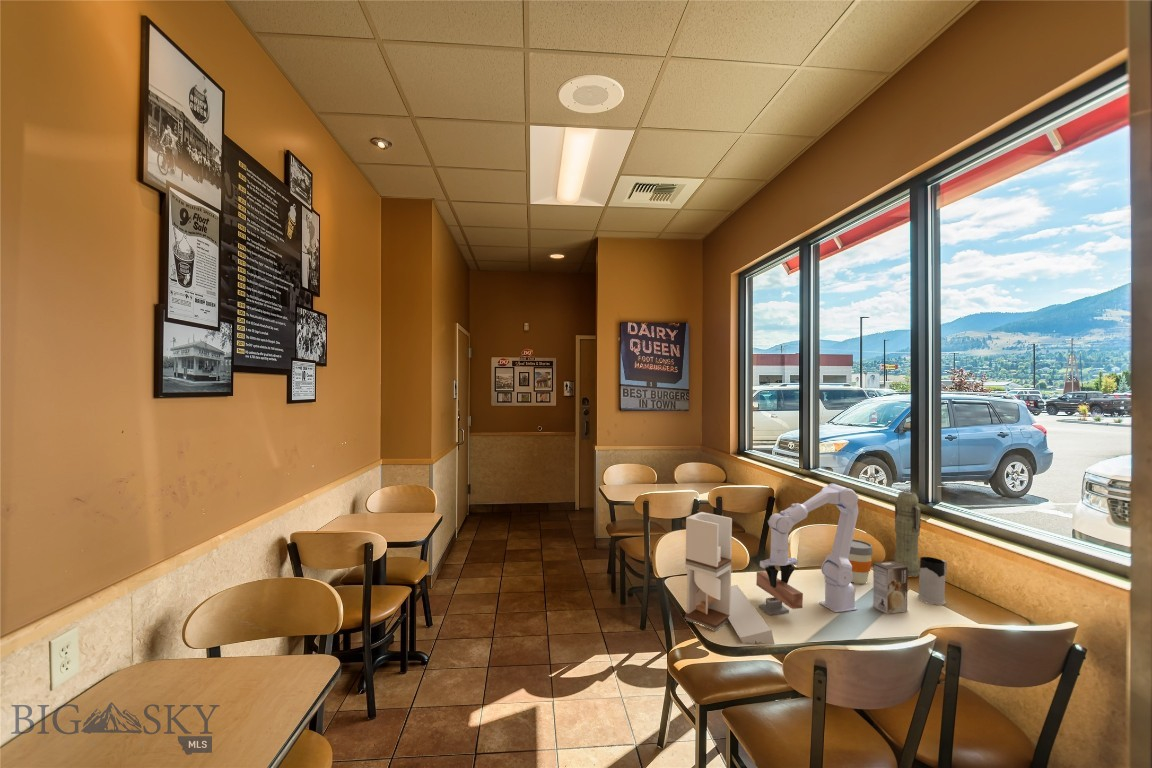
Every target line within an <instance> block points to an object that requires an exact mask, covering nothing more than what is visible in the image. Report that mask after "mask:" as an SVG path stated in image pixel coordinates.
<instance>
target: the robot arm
mask: <svg viewBox="0 0 1152 768" xmlns="http://www.w3.org/2000/svg"><path fill="white" fill-rule="evenodd" d="M858 500H859V495H858V494H857V493H856V491H855V490H853V489H852V488H847V487H845V486H842V485H839V484H837V483H829V484H827V486H823V487H822V489H821V490H820V491H819V492H818V493H816V494H815V495H814V496H811V497H810V498H809V499H807V500H806V501H804V502H803V503H799V502H797V503H791V504H790V506H789V507H787V508H786V509H784V510H781V511H780V512H779V513H772V515H770V517H769V519H768V520H767V523H768V526H769V527H770V556H769V558H767V559H764V560H760V561H759V567H760V568H762V569H764V571H766V572H767V574H768V577H769V581H770V585H771V586H772V587H774V588H776V579H777V578H778V574H779V573H780V580H782V581H783V582H785V583H787V584H788V585H789V580H790V578H791V575H792V574H793V573H794V571H795V567H794V565H795V566H798V565H799V559H797V558H796V557H789V533H790V532H791V531H792V529H793V526H795V525H797V524H798V523H799V522H801V521H803V520H805V519H806V518H808V514H809V513H810V512H812V511H814V510H816V509H817V508H820V507H822V506H824V505H825V504H832V505H833V504H834V505H835V506H836V508H837V509H838V510H839V511H840V512H839V519H838V522H837V526H836V531H835V535H834V536H835V537H834V541H833V544H832V549H831V553H829V554H827V555H826V556H825V559H824V561H823V562H822V564H821V566H820V570H821V574H823V576H824V583H825V585H824V600H821V601H818V602H819V605H822V606H823V607H825V608H827V609H828V610H830V611H832V612H834V613H840V612H842V613H843V612H849V611H856V610H857V609H858V608H857V607H855V606H856V604H855V603H856V590H855V587H854V586H853V583H851V581H852V565H851V563H850V562H849V560H848V557H849V553H850V548H851V544H852V539H854V534H855V529H856V526H857V524H856V523H857V520H858V518H859V517H858V516H859V513H860V512H859V511H860V509H859V505H858ZM777 567H779V568H780V569H779V570H780V572H779V570H778V569H777Z"/></svg>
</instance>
